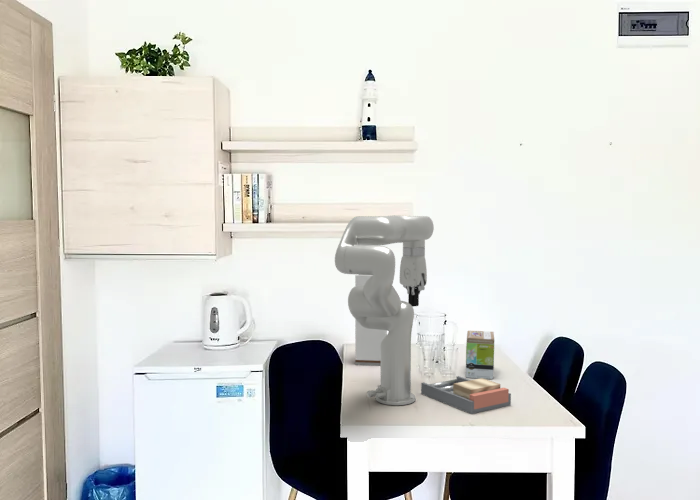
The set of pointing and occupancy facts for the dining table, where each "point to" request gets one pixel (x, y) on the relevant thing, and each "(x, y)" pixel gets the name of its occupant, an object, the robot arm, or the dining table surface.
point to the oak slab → (474, 387)
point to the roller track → (457, 398)
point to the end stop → (490, 397)
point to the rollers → (446, 385)
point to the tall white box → (367, 338)
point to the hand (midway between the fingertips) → (413, 305)
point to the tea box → (480, 354)
